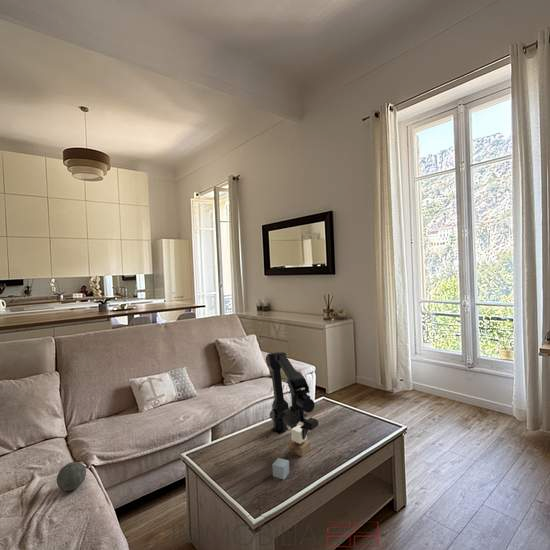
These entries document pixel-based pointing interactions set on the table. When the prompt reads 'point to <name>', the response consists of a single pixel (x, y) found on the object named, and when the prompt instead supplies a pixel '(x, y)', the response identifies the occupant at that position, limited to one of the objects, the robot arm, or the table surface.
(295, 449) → the brown wooden block
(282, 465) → the slate cube
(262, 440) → the table surface
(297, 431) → the cream cube
